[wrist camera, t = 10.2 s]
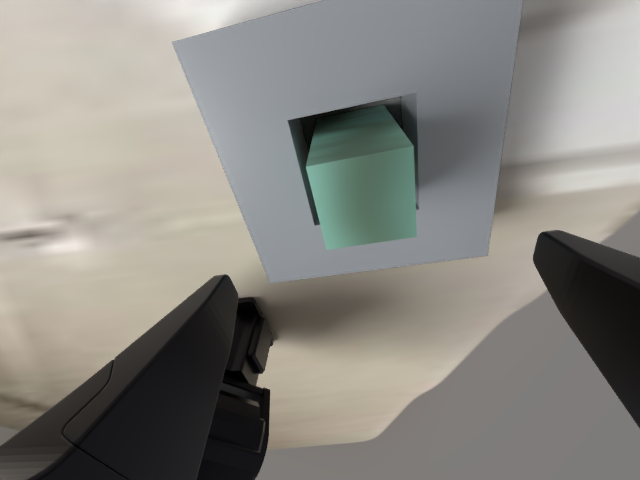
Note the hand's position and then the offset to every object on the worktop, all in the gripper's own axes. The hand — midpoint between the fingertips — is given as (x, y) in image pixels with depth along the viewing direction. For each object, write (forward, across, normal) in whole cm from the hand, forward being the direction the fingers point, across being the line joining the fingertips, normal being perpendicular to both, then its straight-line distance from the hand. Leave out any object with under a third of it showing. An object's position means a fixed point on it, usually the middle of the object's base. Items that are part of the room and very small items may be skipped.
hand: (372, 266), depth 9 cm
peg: (+12, 0, 0) cm, 12 cm away
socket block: (+12, 0, 0) cm, 12 cm away
